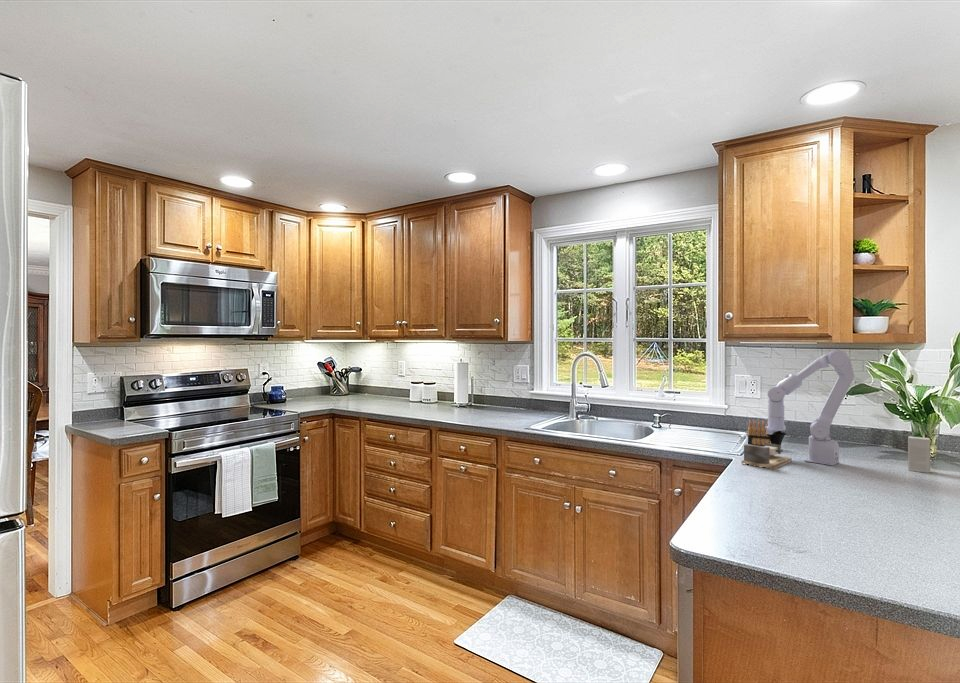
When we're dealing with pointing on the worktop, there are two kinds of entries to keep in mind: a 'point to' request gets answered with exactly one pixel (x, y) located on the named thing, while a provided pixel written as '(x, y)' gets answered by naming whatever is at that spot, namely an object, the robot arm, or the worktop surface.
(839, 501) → the worktop surface
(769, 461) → the gauge bench
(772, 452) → the gauge ram
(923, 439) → the skincare box
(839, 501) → the worktop surface
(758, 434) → the ammunition clip
